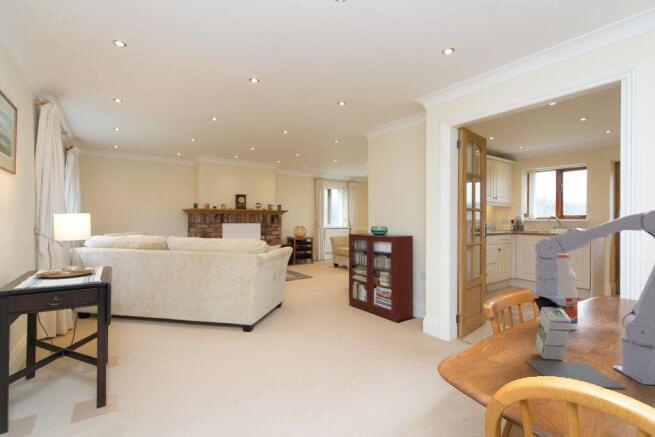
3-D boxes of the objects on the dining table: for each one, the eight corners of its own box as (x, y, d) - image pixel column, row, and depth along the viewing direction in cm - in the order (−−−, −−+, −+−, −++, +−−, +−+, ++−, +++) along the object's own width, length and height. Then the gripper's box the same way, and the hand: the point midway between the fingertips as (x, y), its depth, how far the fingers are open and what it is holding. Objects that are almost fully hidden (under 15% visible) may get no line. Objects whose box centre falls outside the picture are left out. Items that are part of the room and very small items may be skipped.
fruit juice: (561, 321, 129) (560, 253, 130) (584, 329, 120) (583, 255, 121) (541, 323, 128) (541, 253, 128) (563, 331, 118) (562, 256, 119)
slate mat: (625, 389, 77) (625, 387, 77) (556, 386, 79) (556, 384, 79) (584, 363, 91) (584, 362, 91) (525, 361, 93) (525, 360, 93)
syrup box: (563, 360, 94) (573, 319, 89) (541, 358, 95) (549, 318, 90) (554, 346, 99) (563, 307, 94) (533, 344, 100) (540, 306, 95)
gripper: (521, 274, 105) (521, 315, 105) (547, 282, 91) (547, 330, 90) (543, 274, 104) (543, 316, 104) (573, 282, 90) (574, 331, 90)
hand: (547, 322), depth 97 cm, fingers closed
